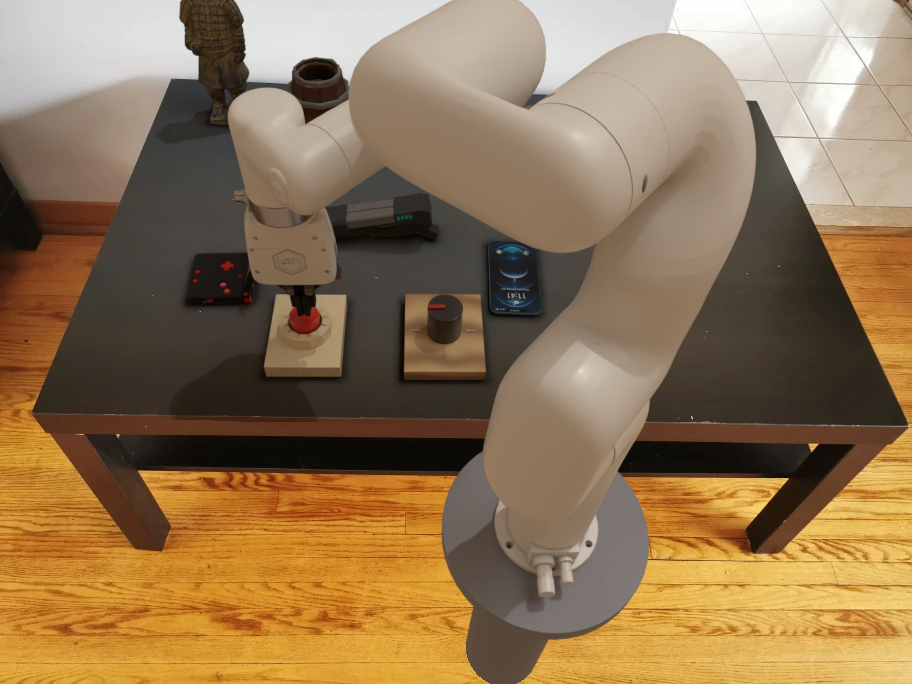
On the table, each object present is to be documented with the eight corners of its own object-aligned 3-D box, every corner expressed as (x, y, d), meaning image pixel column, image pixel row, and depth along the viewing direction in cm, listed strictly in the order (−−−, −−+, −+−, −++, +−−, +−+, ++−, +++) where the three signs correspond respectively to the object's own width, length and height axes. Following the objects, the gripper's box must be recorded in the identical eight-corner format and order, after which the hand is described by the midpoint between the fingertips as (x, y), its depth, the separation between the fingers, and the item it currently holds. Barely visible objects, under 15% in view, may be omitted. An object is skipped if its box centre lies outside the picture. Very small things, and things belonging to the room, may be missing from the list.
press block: (341, 377, 95) (338, 359, 92) (266, 376, 95) (261, 359, 92) (347, 304, 103) (345, 286, 100) (278, 304, 103) (274, 285, 100)
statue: (199, 124, 128) (151, -49, 105) (210, 100, 133) (166, -71, 109) (256, 128, 128) (221, -45, 105) (265, 104, 133) (233, -67, 110)
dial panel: (484, 380, 96) (486, 371, 95) (404, 380, 96) (403, 370, 94) (479, 303, 105) (480, 293, 103) (405, 302, 104) (405, 292, 103)
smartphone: (535, 242, 113) (542, 313, 103) (535, 245, 113) (541, 316, 104) (487, 240, 112) (490, 311, 103) (487, 243, 113) (489, 314, 103)
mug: (350, 170, 122) (344, 93, 111) (282, 162, 123) (268, 84, 111) (369, 118, 132) (365, 42, 120) (306, 110, 133) (295, 34, 121)
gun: (442, 243, 112) (422, 197, 104) (327, 272, 116) (299, 229, 108) (442, 224, 114) (421, 177, 107) (329, 252, 118) (302, 209, 111)
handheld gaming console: (197, 259, 108) (180, 209, 100) (278, 257, 109) (268, 208, 101) (187, 305, 102) (168, 256, 94) (273, 303, 103) (261, 254, 95)
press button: (319, 334, 95) (317, 326, 94) (289, 334, 95) (287, 325, 94) (321, 311, 98) (320, 303, 96) (292, 311, 97) (290, 303, 96)
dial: (460, 317, 100) (462, 292, 96) (462, 344, 97) (464, 319, 93) (426, 317, 100) (427, 292, 96) (427, 344, 97) (428, 319, 93)
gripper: (209, 222, 76) (244, 330, 91) (347, 222, 77) (360, 329, 91) (221, 178, 81) (252, 288, 95) (352, 178, 82) (363, 287, 96)
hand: (305, 308), depth 93 cm, fingers closed
